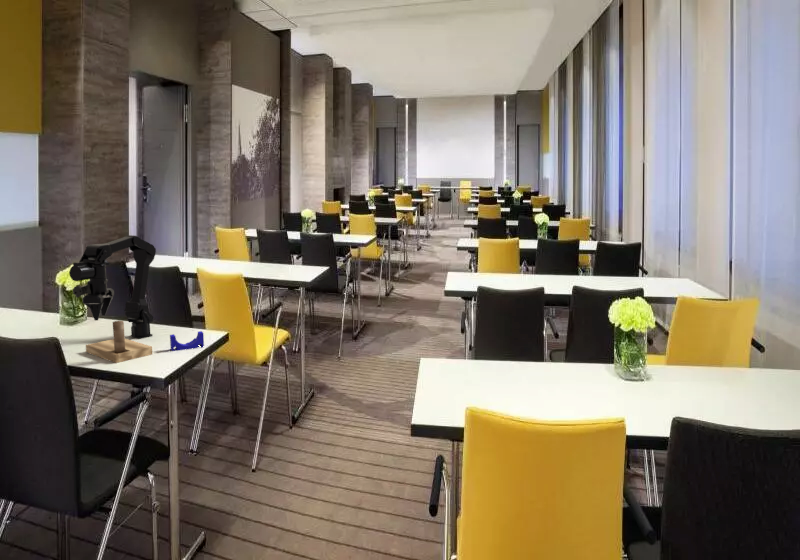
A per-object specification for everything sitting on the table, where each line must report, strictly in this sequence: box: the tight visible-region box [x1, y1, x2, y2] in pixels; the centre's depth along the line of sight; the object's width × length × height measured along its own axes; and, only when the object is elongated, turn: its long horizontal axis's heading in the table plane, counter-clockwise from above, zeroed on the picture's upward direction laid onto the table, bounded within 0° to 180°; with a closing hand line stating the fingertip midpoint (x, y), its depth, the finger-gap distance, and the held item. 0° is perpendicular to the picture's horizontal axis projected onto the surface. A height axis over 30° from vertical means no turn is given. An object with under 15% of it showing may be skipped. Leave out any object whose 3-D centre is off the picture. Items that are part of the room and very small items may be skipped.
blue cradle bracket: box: [169, 331, 205, 352], centre depth 228 cm, size 12×4×6 cm, turn 121°
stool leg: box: [112, 320, 126, 354], centre depth 211 cm, size 4×4×14 cm
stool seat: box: [85, 338, 153, 364], centre depth 219 cm, size 14×22×3 cm, turn 54°
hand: (100, 317), depth 222 cm, fingers open, 9 cm apart
